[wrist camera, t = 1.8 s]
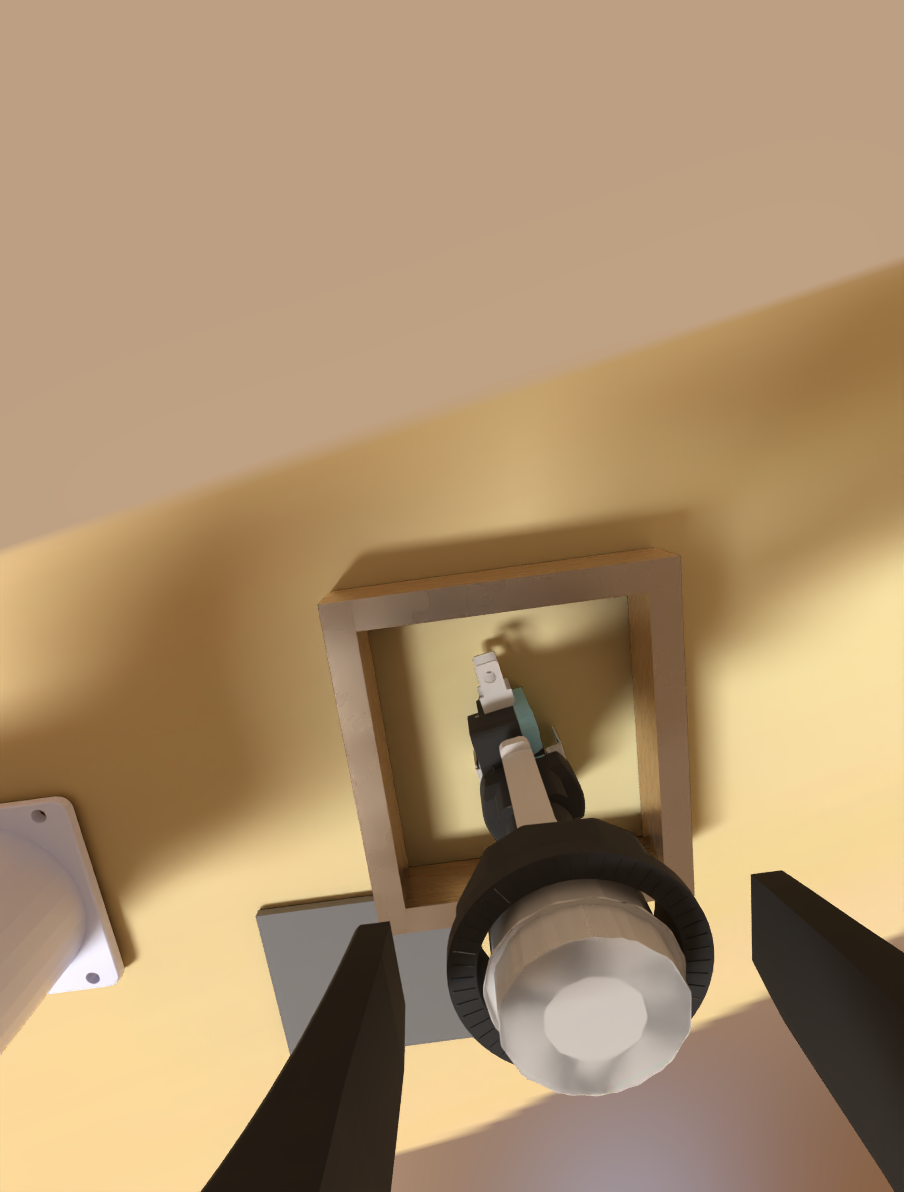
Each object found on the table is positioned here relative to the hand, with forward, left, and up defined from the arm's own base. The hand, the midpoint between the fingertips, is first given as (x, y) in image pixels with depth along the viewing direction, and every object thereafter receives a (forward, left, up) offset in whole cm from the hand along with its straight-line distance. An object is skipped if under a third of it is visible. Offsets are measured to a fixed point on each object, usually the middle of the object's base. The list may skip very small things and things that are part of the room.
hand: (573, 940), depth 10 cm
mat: (-7, -10, -9) cm, 15 cm away
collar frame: (0, 0, -9) cm, 9 cm away
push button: (0, 0, -9) cm, 9 cm away
